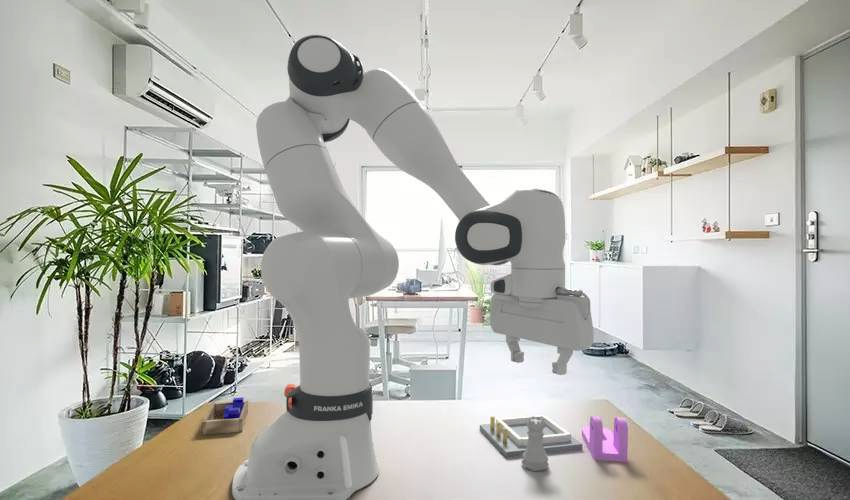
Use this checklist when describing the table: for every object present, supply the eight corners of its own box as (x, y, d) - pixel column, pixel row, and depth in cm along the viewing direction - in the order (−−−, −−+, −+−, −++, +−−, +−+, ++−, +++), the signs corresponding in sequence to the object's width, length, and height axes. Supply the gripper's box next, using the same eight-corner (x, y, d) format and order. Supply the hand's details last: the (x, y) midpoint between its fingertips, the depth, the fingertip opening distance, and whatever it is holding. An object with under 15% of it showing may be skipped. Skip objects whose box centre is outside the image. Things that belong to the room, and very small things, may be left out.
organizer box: (202, 434, 94) (202, 422, 94) (212, 414, 105) (212, 403, 105) (242, 431, 96) (242, 418, 96) (248, 412, 106) (248, 400, 106)
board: (506, 457, 85) (506, 437, 85) (479, 429, 98) (479, 412, 98) (582, 449, 89) (582, 430, 89) (547, 423, 102) (547, 406, 101)
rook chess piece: (531, 457, 85) (531, 412, 85) (553, 466, 82) (554, 419, 82) (516, 465, 82) (516, 418, 82) (539, 475, 79) (540, 426, 79)
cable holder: (226, 417, 104) (226, 398, 104) (243, 415, 105) (243, 397, 105) (219, 431, 96) (220, 411, 96) (238, 430, 97) (238, 410, 97)
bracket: (627, 462, 84) (628, 422, 84) (593, 460, 85) (594, 420, 85) (608, 433, 97) (608, 398, 97) (579, 431, 98) (579, 397, 98)
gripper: (602, 289, 75) (602, 379, 75) (509, 280, 92) (509, 353, 92) (575, 291, 71) (575, 385, 72) (484, 282, 88) (483, 358, 89)
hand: (537, 367), depth 82 cm, fingers open, 8 cm apart
